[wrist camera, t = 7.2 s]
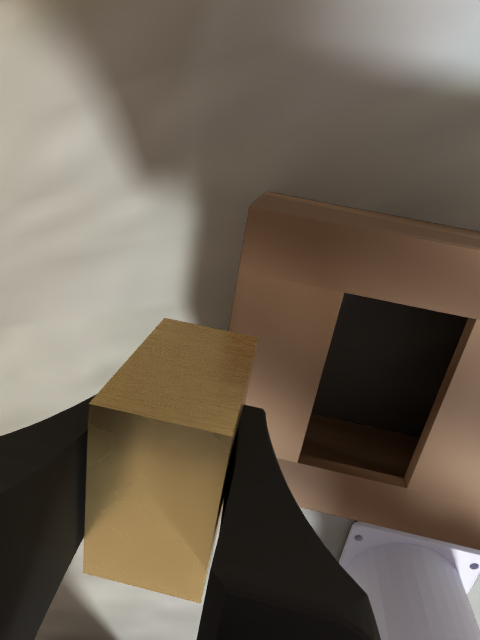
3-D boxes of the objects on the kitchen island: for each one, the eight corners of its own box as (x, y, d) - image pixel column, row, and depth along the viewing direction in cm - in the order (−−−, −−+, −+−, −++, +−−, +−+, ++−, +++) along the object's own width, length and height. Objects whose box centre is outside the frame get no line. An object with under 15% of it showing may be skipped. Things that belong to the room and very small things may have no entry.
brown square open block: (435, 450, 24) (480, 550, 18) (227, 403, 24) (201, 483, 18) (525, 240, 19) (626, 278, 13) (266, 191, 20) (249, 206, 14)
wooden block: (233, 464, 15) (200, 603, 10) (151, 445, 15) (83, 572, 10) (258, 337, 13) (232, 436, 8) (164, 318, 13) (88, 403, 9)
